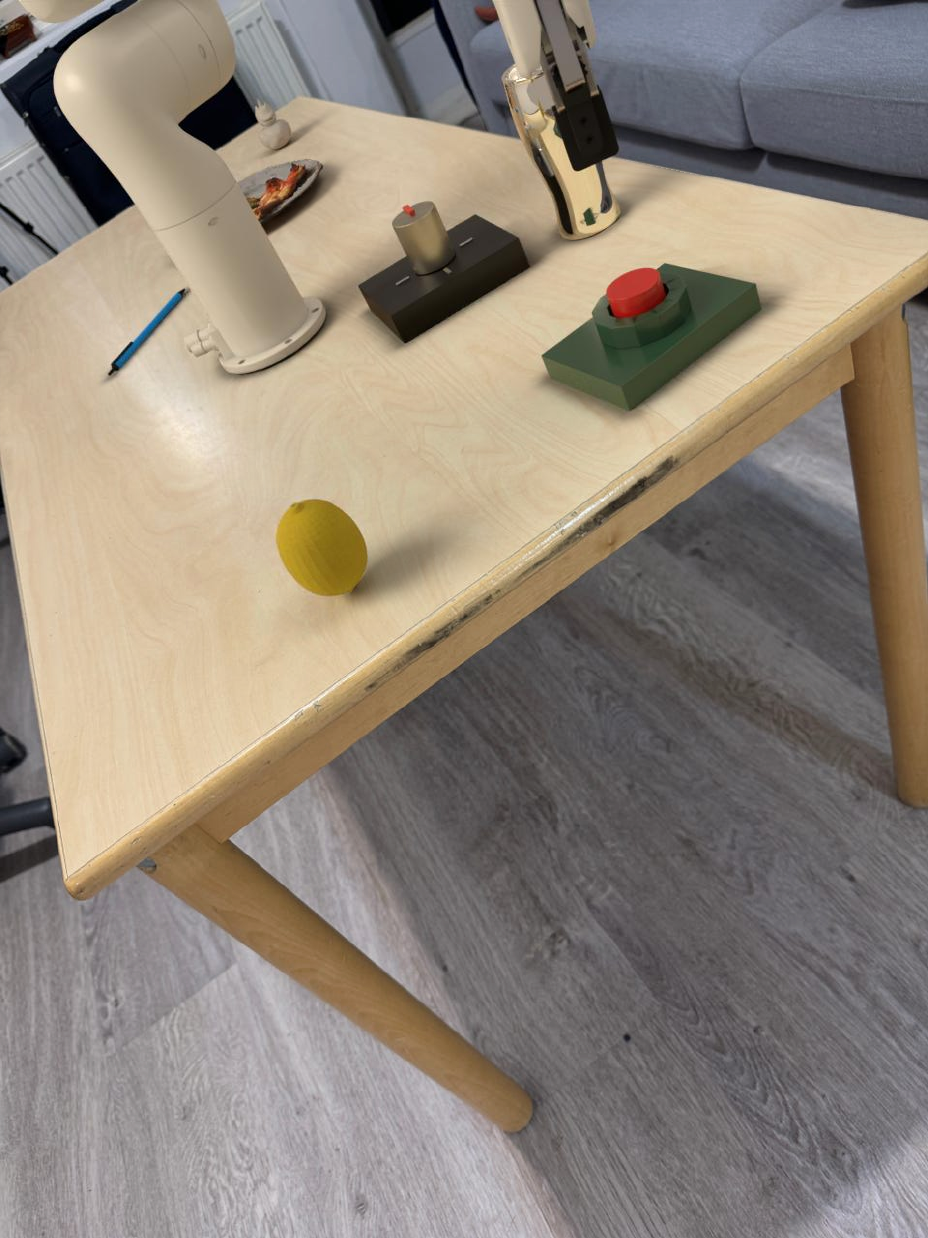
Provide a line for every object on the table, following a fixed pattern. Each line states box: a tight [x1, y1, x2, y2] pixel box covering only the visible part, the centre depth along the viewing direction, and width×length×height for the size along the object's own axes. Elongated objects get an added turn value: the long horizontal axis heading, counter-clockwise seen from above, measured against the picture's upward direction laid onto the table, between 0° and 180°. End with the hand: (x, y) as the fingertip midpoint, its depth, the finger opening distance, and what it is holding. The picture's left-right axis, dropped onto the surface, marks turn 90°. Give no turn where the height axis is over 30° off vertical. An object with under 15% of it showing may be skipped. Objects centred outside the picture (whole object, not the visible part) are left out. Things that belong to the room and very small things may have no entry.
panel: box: [357, 213, 531, 344], centre depth 96 cm, size 14×11×3 cm
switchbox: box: [541, 262, 762, 412], centre depth 73 cm, size 13×10×4 cm
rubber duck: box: [254, 98, 292, 150], centre depth 161 cm, size 5×7×8 cm
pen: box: [107, 288, 186, 377], centre depth 124 cm, size 1×19×1 cm, turn 160°
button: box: [605, 267, 666, 318], centre depth 72 cm, size 4×4×2 cm
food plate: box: [236, 158, 324, 225], centre depth 141 cm, size 25×23×4 cm
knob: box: [391, 200, 455, 275], centre depth 93 cm, size 4×4×5 cm
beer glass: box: [500, 63, 622, 241], centre depth 89 cm, size 7×7×15 cm
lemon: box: [275, 498, 369, 597], centre depth 66 cm, size 6×6×8 cm
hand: (595, 158), depth 65 cm, fingers closed
